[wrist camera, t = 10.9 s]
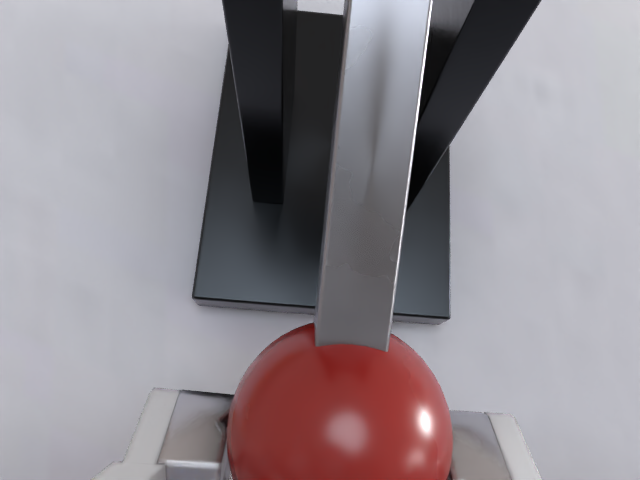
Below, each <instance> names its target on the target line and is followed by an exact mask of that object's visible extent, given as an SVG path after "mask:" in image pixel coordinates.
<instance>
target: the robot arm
mask: <svg viewBox="0 0 640 480" xmlns="http://www.w3.org/2000/svg"><path fill="white" fill-rule="evenodd" d="M233 397H234V395H230V394H220V393H210V392H200V391H190V390H173V389H164V388H153V390H152V391H151V392H150V393H149V395H148V398H147V400H146V403H145V405H144V408H143V410H142V413H141V416H140V418H139V421H138V423H137V426H136V428H135V431H134V433H133V436H132V438H131V441H130V444H129V446H128V449H127V451H126V454H125V456H124V459H123V461H122V462H112V463H111V464H110V465H109V466H107V467H106V468H105V469H104V470H102V471H101V472H100V473H98V474H97V475H96V476H95V477H93V478H92V479H91V480H229V479H230V473H231V470H230V467H229V461H228V454H227V425H228V418H229V411H230V407H231V404H232V400H233ZM449 413H450V418H451V424H452V434H453V449H452V460H451V467H450V471H449V475H448V479H447V480H542V479H541V476H540V474H539V472H538V469H537V467H536V465H535V463H534V460H533V458H532V456H531V453H530V451H529V449H528V446H527V444H526V442H525V440H524V437H523V435H522V433H521V430H520V428H519V426H518V423H517V421H516V419H515V418H514V417H513V416H512V415H511V414H503V413H487V412H484V413H482V412H471V411H455V410H449Z"/></svg>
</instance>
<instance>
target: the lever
mask: <svg viewBox="0 0 640 480" xmlns="http://www.w3.org/2000/svg"><path fill="white" fill-rule="evenodd" d="M432 3H433V0H345V3H344V13H343V24H342V34H341V45H340V55H339V66H338V76H337V87H336V97H335V108H334V118H333V129H332V139H331V150H330V160H329V171H328V181H327V192H326V202H325V213H324V223H323V234H322V244H321V254H320V265H319V275H318V286H317V296H316V307H315V317H314V323H310V324H307V325H304V326H301V327H299V328H296V329H294V330H292V331H290V332H288V333H286V334H284V335H282V336H281V337H279V338H278V339H276V340H275V341H274V342H272V343H271V344H270V345H269V346H267V347H266V348H265V349H264V350H263V351H262V352H261V353H260V354H259V355H258V357H257V358H256V359H255V360H254V361H253V363H252V364H251V365H250V366H249V367H248V369H247V371H246V372H245V374H244V375H243V377H242V379H241V381H240V383H239V385H238V388H237V390H236V392H235V395H234V397H233V400H232V404H231V407H230V411H229V418H228V425H227V454H228V461H229V467H230V470H231V474H232V477H233V480H447V479H448V475H449V471H450V467H451V460H452V449H453V434H452V424H451V418H450V413H449V408H448V405H447V403H446V400H445V397H444V394H443V392H442V389H441V387H440V385H439V383H438V381H437V379H436V377H435V376H434V374H433V373H432V371H431V370H430V368H429V367H428V366H427V364H426V363H425V362H424V360H423V359H422V358H421V357H420V356H419V355H418V354H417V353H416V352H415V351H414V350H413V349H412V348H411V347H410V346H408V345H407V344H406V343H404V342H403V341H402V340H401V339H399V338H398V337H396V336H394V335H393V334H391V326H392V318H393V310H394V302H395V295H396V287H397V279H398V271H399V263H400V255H401V247H402V240H403V232H404V224H405V216H406V208H407V200H408V192H409V184H410V177H411V169H412V161H413V153H414V145H415V137H416V129H417V122H418V114H419V106H420V98H421V90H422V82H423V74H424V66H425V59H426V51H427V43H428V35H429V27H430V19H431V11H432Z"/></svg>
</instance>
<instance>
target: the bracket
mask: <svg viewBox="0 0 640 480" xmlns="http://www.w3.org/2000/svg"><path fill="white" fill-rule="evenodd" d="M297 1H298V0H222V4H223V10H224V17H225V23H226V30H227V36H228V43H229V44H228V51H227V58H226V65H225V72H224V79H223V86H222V93H221V99H220V106H219V113H218V120H217V127H216V134H215V141H214V148H213V155H212V161H211V168H210V175H209V182H208V189H207V196H206V203H205V210H204V216H203V223H202V230H201V237H200V244H199V251H198V258H197V265H196V272H195V278H194V285H193V292H192V298H193V300H194V301H195V302H196V303H197V304H198V305H200V306H212V307H225V308H237V309H250V310H262V311H274V312H287V313H299V314H312V315H315V307H316V296H317V286H318V275H319V265H320V254H321V244H322V234H323V223H324V213H325V202H326V192H327V181H328V171H329V160H330V150H331V139H332V129H333V118H334V108H335V97H336V87H337V76H338V66H339V55H340V45H341V34H342V24H343V15H336V14H326V13H317V12H307V11H297ZM540 2H541V0H433V3H432V11H431V19H430V27H429V35H428V43H427V51H426V59H425V66H424V74H423V82H422V90H421V98H420V106H419V114H418V122H417V129H416V137H415V145H414V153H413V161H412V169H411V177H410V184H409V192H408V200H407V208H406V216H405V224H404V232H403V240H402V247H401V255H400V263H399V271H398V279H397V287H396V295H395V302H394V310H393V318H392V321H399V322H412V323H424V324H437V325H439V324H441V323H443V322H445V321H447V320H449V319H450V152H449V145H450V143H451V142H452V140H453V139H454V137H455V135H456V134H457V132H458V131H459V129H460V128H461V126H462V124H463V123H464V121H465V120H466V118H467V117H468V115H469V113H470V112H471V110H472V109H473V107H474V106H475V104H476V102H477V101H478V99H479V98H480V96H481V95H482V93H483V91H484V90H485V88H486V87H487V85H488V84H489V82H490V80H491V79H492V77H493V76H494V74H495V72H496V71H497V69H498V68H499V66H500V65H501V63H502V61H503V60H504V58H505V57H506V55H507V54H508V52H509V50H510V49H511V47H512V46H513V44H514V43H515V41H516V39H517V38H518V36H519V35H520V33H521V32H522V30H523V28H524V27H525V25H526V24H527V22H528V21H529V19H530V17H531V16H532V14H533V13H534V11H535V10H536V8H537V6H538V5H539V3H540Z"/></svg>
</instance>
